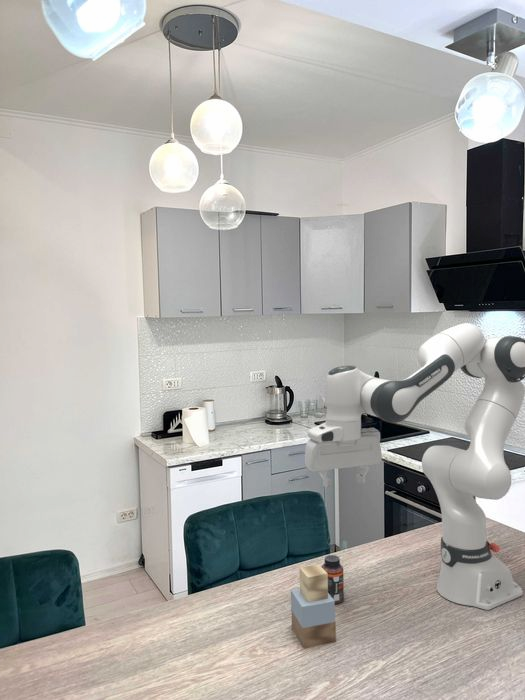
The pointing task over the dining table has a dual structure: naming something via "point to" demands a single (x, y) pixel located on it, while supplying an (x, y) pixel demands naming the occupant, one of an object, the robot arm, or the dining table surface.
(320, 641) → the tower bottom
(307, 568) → the maple block
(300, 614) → the tower top
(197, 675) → the dining table surface
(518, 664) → the dining table surface
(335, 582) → the supplement bottle
